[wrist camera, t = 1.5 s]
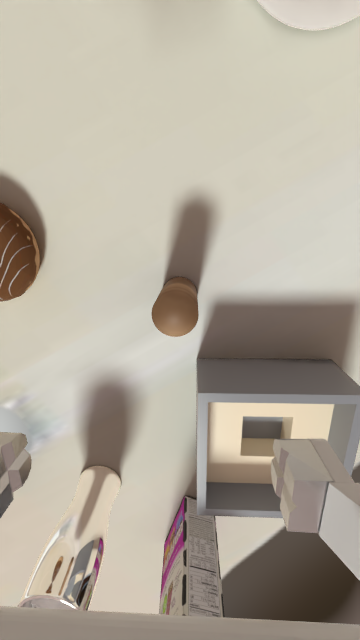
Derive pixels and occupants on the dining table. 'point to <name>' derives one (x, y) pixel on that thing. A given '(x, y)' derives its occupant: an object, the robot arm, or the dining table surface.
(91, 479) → the beer glass
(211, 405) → the open-top box
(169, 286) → the peg
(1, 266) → the donut
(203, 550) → the candy bar box
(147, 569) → the dining table surface
